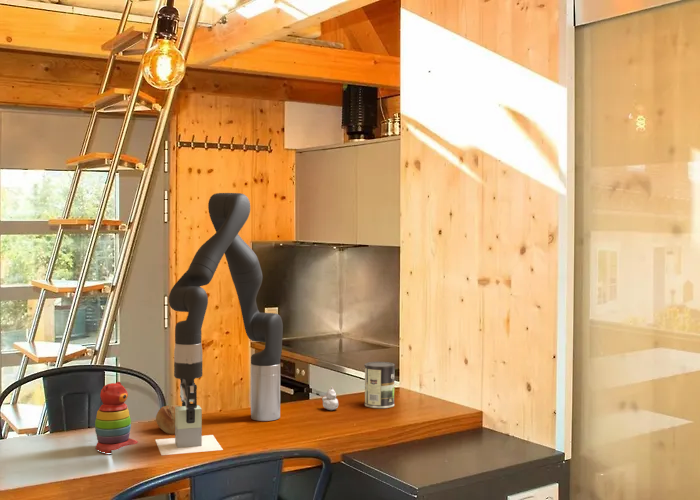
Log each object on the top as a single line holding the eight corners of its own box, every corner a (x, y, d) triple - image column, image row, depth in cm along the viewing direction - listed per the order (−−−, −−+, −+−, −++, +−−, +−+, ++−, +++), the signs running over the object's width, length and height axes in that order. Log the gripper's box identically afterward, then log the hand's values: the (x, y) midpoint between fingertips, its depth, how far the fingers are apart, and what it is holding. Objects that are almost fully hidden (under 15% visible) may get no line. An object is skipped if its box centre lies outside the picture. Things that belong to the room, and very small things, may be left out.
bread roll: (163, 441, 225) (163, 412, 225) (150, 429, 238) (150, 402, 238) (196, 437, 229) (196, 409, 229) (182, 425, 243) (182, 399, 242)
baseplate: (155, 443, 222) (155, 439, 222) (212, 439, 227) (212, 434, 227) (161, 459, 206) (161, 455, 206) (223, 454, 212) (223, 449, 212)
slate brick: (177, 447, 213) (177, 429, 213) (175, 443, 218) (175, 424, 218) (201, 445, 215) (201, 427, 215) (198, 441, 220) (198, 423, 220)
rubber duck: (331, 412, 260) (331, 388, 260) (317, 409, 265) (317, 385, 265) (342, 409, 264) (342, 385, 264) (328, 406, 269) (328, 383, 269)
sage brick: (177, 429, 213) (177, 410, 213) (175, 424, 218) (175, 406, 218) (201, 427, 215) (201, 409, 215) (198, 423, 220) (198, 405, 220)
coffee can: (393, 401, 277) (394, 361, 276) (395, 408, 266) (395, 366, 266) (364, 401, 277) (364, 361, 276) (364, 408, 267) (364, 366, 266)
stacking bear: (111, 456, 210) (111, 388, 209) (85, 450, 215) (85, 384, 215) (142, 446, 219) (142, 381, 218) (116, 441, 224) (116, 378, 224)
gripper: (171, 356, 221) (171, 414, 222) (177, 364, 208) (177, 426, 209) (198, 355, 224) (198, 412, 224) (206, 363, 211) (206, 424, 211)
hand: (188, 419), depth 216 cm, fingers open, 8 cm apart
